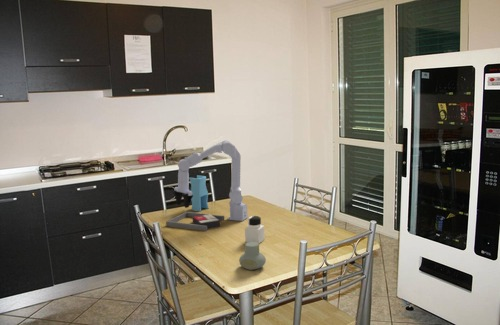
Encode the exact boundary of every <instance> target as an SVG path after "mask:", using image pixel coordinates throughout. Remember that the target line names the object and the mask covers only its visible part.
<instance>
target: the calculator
mask: <svg viewBox="0 0 500 325" xmlns="http://www.w3.org/2000/svg"><path fill="white" fill-rule="evenodd" d="M208 214H209V213H208ZM212 215H213V214H212ZM212 215H211V214H209V215H203V216H195V217H191V218H192V224H196V225H204V226H207V230H209V229H212V228H213V229H215V228H220V227H221V220H218V219H217V218H216V217H214V216H212Z"/></svg>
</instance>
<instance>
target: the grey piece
mask: <svg viewBox="0 0 500 325" xmlns="http://www.w3.org/2000/svg"><path fill="white" fill-rule="evenodd" d="M203 215H209V213H200V212H191V211H184V212H183V213H181V214H179V215H176V216H175V217H173V218H171V219H169V220H166V222H165V223H166V224H165V226H166V227H172V228H178V229H179V228H180V229H188V230H195V231H201V232H202V231H203V232H207V231H208V229H207V226H204V225H196V224H194V223H186V222H179V221H182V220H183V219H184V218H185V219H186V218H193V217H195V216H203ZM211 215H212V216H214V217H216V218H217V219H218V220H220V221H221V222H222V221H223V222H224V221H225V215H220V214H211Z"/></svg>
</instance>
